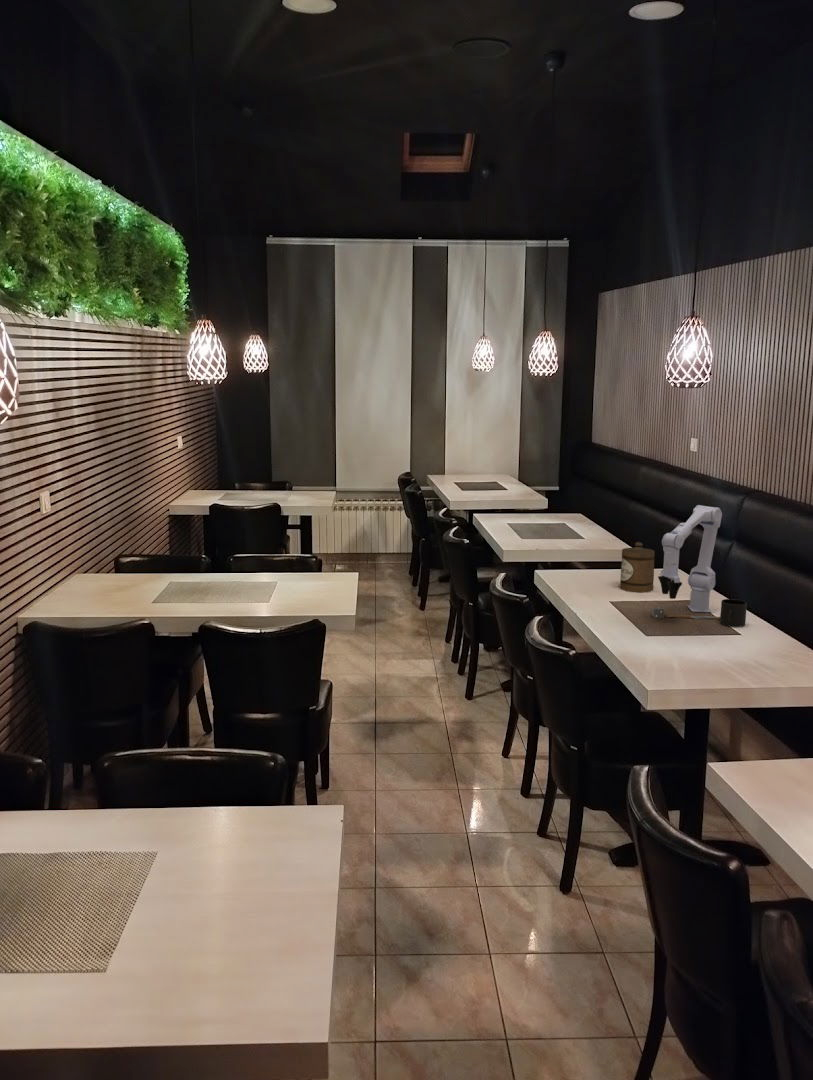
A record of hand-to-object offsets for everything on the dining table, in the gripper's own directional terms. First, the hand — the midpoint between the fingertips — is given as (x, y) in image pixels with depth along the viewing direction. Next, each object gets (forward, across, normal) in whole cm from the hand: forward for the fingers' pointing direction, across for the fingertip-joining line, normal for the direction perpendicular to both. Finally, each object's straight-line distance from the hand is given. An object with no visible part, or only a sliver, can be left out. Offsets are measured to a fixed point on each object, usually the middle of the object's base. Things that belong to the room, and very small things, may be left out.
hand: (668, 596), depth 347 cm
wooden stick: (+10, 0, +15) cm, 18 cm away
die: (+10, -3, -3) cm, 11 cm away
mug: (+10, +9, +23) cm, 26 cm away
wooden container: (+10, -51, +6) cm, 53 cm away
